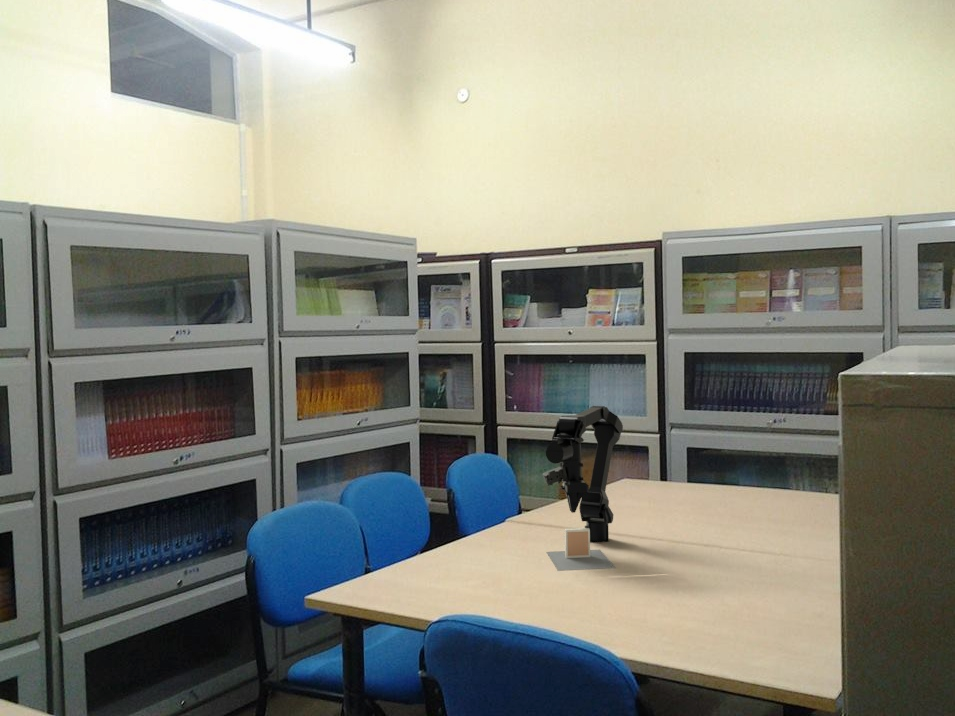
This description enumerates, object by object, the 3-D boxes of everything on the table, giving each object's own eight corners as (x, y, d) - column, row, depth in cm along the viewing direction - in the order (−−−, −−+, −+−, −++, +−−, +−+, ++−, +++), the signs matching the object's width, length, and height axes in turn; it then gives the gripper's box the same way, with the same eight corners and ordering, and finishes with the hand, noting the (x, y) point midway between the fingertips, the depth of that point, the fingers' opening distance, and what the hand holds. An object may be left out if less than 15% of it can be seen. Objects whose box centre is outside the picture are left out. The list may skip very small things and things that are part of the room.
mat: (599, 550, 254) (599, 549, 254) (616, 569, 234) (616, 567, 234) (546, 553, 253) (546, 551, 253) (557, 572, 233) (557, 570, 233)
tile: (589, 555, 248) (588, 527, 248) (590, 557, 246) (589, 529, 246) (565, 556, 247) (564, 528, 247) (566, 558, 246) (565, 530, 245)
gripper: (539, 455, 261) (540, 506, 262) (549, 464, 242) (550, 519, 243) (575, 453, 262) (576, 505, 262) (588, 463, 243) (589, 518, 244)
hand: (572, 511), depth 253 cm, fingers closed
